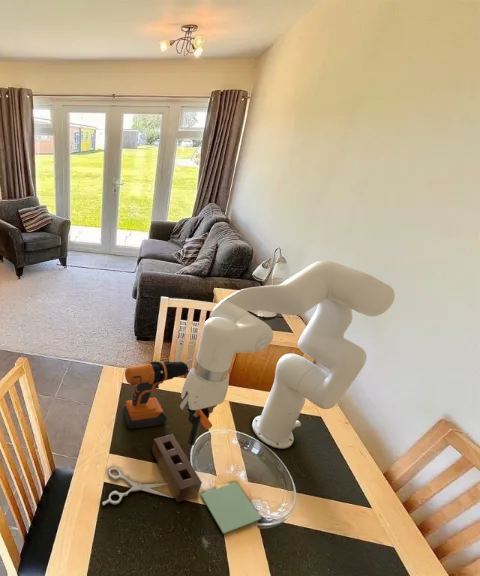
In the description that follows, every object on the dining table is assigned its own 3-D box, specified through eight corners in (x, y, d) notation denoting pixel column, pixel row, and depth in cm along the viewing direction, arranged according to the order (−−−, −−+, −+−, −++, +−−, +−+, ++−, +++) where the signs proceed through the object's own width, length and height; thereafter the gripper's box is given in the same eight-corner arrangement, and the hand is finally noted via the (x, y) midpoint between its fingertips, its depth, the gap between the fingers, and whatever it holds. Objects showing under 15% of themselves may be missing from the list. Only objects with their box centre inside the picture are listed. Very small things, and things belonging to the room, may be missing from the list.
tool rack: (170, 446, 102) (172, 433, 99) (197, 495, 88) (202, 482, 86) (151, 451, 100) (153, 439, 97) (177, 502, 87) (180, 489, 84)
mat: (235, 483, 92) (236, 481, 92) (260, 519, 83) (261, 518, 83) (200, 495, 88) (200, 493, 88) (223, 534, 80) (223, 533, 80)
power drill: (173, 405, 117) (185, 352, 105) (182, 422, 110) (195, 367, 99) (117, 413, 113) (123, 358, 101) (123, 430, 106) (129, 374, 95)
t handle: (187, 429, 89) (194, 398, 84) (203, 454, 83) (213, 422, 77) (180, 430, 89) (188, 400, 83) (196, 456, 82) (205, 424, 76)
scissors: (103, 466, 94) (170, 471, 94) (103, 468, 95) (170, 473, 94) (102, 504, 85) (177, 510, 84) (102, 505, 85) (176, 511, 84)
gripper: (229, 352, 79) (214, 404, 87) (173, 363, 75) (163, 417, 83) (250, 372, 72) (232, 426, 81) (190, 385, 68) (177, 441, 77)
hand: (197, 421), depth 82 cm, fingers closed on t handle, 2 cm apart
